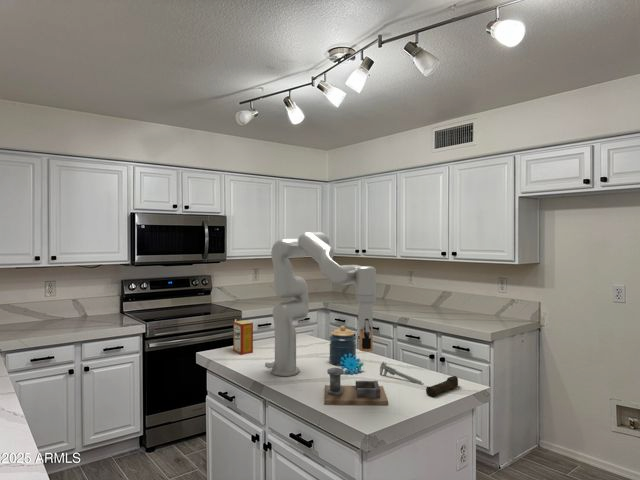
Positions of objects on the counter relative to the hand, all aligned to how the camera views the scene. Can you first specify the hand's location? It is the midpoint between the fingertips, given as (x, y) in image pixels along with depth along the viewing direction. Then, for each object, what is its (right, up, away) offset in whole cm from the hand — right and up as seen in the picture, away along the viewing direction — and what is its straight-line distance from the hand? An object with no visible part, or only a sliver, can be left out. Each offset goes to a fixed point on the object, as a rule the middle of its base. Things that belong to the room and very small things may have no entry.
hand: (365, 346), depth 167 cm
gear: (-3, -19, +31) cm, 36 cm away
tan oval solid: (0, -1, 0) cm, 1 cm away
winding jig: (-4, -19, 0) cm, 20 cm away
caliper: (+17, -20, +21) cm, 33 cm away
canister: (-6, -19, +46) cm, 51 cm away
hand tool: (+31, -20, +7) cm, 38 cm away
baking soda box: (-58, -19, +65) cm, 89 cm away
